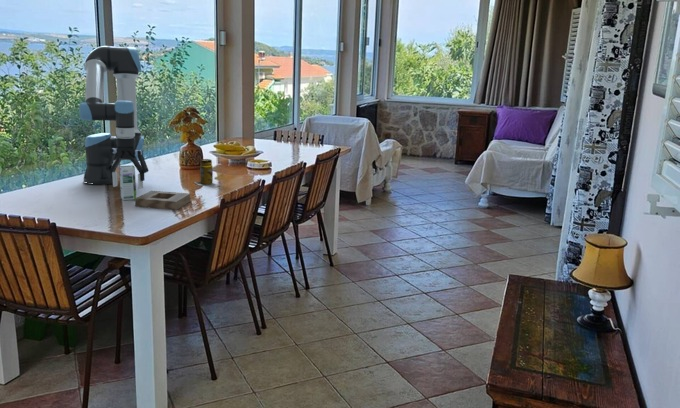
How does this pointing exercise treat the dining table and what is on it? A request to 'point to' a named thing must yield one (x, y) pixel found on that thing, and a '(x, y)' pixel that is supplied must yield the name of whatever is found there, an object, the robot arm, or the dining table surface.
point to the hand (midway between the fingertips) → (128, 187)
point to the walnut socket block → (162, 200)
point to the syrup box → (127, 182)
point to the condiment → (206, 172)
